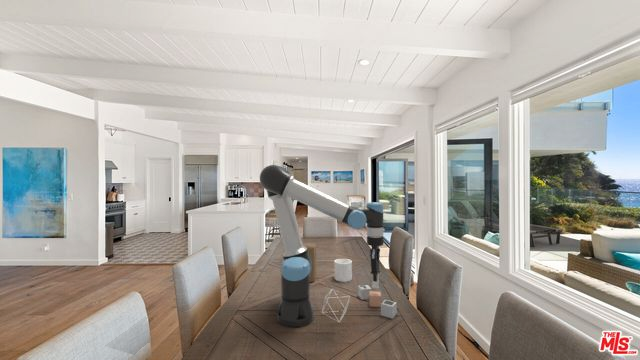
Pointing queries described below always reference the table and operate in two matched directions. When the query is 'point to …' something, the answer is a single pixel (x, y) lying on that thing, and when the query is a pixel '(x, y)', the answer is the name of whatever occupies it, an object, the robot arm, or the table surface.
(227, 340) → the table surface
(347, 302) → the geometric polyhedron
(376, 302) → the plain cube
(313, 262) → the block
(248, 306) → the table surface
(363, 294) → the marked cube
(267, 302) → the table surface
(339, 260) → the mug
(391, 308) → the marked cube
